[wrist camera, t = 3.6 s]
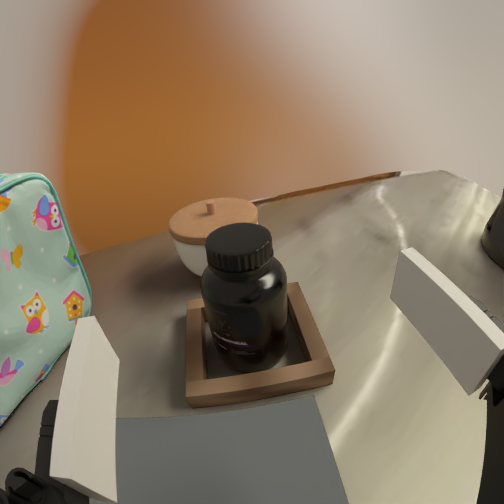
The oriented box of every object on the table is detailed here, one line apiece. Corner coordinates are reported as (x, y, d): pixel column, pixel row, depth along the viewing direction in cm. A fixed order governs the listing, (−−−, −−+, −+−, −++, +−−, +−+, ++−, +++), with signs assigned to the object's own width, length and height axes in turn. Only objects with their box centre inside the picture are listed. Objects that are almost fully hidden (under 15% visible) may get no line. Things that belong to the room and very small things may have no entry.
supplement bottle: (219, 381, 25) (186, 272, 18) (214, 327, 30) (189, 223, 24) (296, 367, 25) (296, 253, 19) (280, 315, 31) (273, 210, 24)
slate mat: (313, 398, 22) (313, 394, 22) (361, 550, 10) (363, 550, 10) (88, 420, 21) (85, 417, 20) (79, 557, 9) (74, 556, 9)
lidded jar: (207, 242, 45) (196, 184, 40) (274, 251, 41) (269, 187, 36) (166, 285, 37) (146, 219, 32) (242, 302, 33) (230, 227, 28)
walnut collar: (297, 295, 33) (297, 281, 32) (332, 383, 23) (335, 370, 22) (191, 313, 32) (186, 300, 31) (192, 408, 22) (185, 396, 21)
